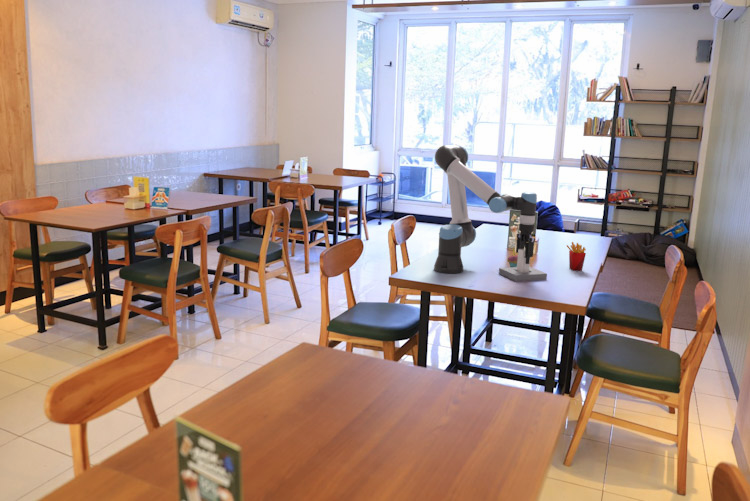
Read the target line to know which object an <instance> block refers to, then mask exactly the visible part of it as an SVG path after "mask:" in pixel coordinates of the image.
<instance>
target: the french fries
mask: <svg viewBox="0 0 750 501" xmlns="http://www.w3.org/2000/svg"><path fill="white" fill-rule="evenodd" d="M566 247H567V249H568V251H569V252H568V253H569V254H568V257H569V258H568V259H569V260H568V261H569V270H571V271H574V272H577V271H579V272H582V271H583V267H584V263H585V259H586V254H587V253H586V252H585V251H586V247H585V246H583V247H582V244H579V242H576V244H575V243H574V241H572V242H571V245H570V246H569V245H568V244H566Z"/></svg>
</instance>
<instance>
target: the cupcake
mask: <svg viewBox="0 0 750 501" xmlns="http://www.w3.org/2000/svg"><path fill="white" fill-rule="evenodd" d="M512 251H513V252H512V253H513V255H510V256H508V258H507V262H508V264H509V267H517V259H518V254H517V255H515V252H516V250H515V247H514V246H513V247H512Z"/></svg>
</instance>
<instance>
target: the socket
mask: <svg viewBox="0 0 750 501" xmlns="http://www.w3.org/2000/svg"><path fill="white" fill-rule="evenodd" d="M498 269H499V270H498V274H499V275H501V276H503V277H505V278H508V279H509V280H511V281H514V282H526V281H527V282H528V281H542V280H543V281H544V280H547V278H548V273H547V272H544V271H541V270H538V269H536V268H535V267H532V266H530V267H529V272H525V273H520V272H518V271H517V267H510V266H509V267H499V268H498Z"/></svg>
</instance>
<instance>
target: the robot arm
mask: <svg viewBox="0 0 750 501" xmlns="http://www.w3.org/2000/svg"><path fill="white" fill-rule="evenodd" d="M434 161H435V163H436V164H437V166H438V167H439V168H440V169H441V170H443V172H444V173H445V174H446V176H447V183H448V192H449V202H450V203H449V204H450V210H451V212H450V213H451V220H450V222H449V224H444V225H442V226H441V227H440V228H439V233H438V249H437V251H438V252H437V253H438V254H437V257H436V260H435V262H434V266H433V270H434V271H435V272H439V273H443V274H460V273H464V265H463V261H462V255H461V254H462V248H464V247H467V246H470V245H471V244H473V243H474V241H475V240H476V238H477V231H476V228H475V227H474V226H473V223H472V220H471V218H469V214H468V213H469V212H468V202H467V193H466V192H467V190H466V188H467V189H469V191H471V192H472V193H473V194H474V195H476V196H477V197H478V198H480V199H481V200H482V201H483V202H484V203H486V204H487V205H488V207H489V210H490V211H491V212H492V213H496V214H497V213H498V214H499V213H503V212H506V211H517V212H518V211H519V221H518V222H519V224H518V231H519V233H516V244H515V245H516V246H515V247H516V248H515V252H516V254H518V249H525V257H524V266H523V270H529V262H530V263H531V258H533V257H534V248H535V242H536V237H533V232H534V231H535V223H536V213H537V212H536V211H537V203H538V201H537V199H538V195H537V193H535V192H528V191H525V192H524V191H523V192H522V193H521V195H516V194H515V195H513V194H508V193H504V194H503V193H501V194H500V193H499V192H498V191H496V190H495V189H494V188H493V187H492V186H491V185H490V184H488V183H487V182H485V181H484V180H483V179H482V178H481V177H479V176H478V175H477V174H476V173H475V172H473V171H472V170H471V169H470V168H468V167H467V165H466V164H467V163H468V161H469V153H468V150H467V149H466V148H465V147H464V146H462V145H460V144H450V145H449V144H444V145H442V146H439V147H438V148H437V150H436V151H435V154H434Z"/></svg>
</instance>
